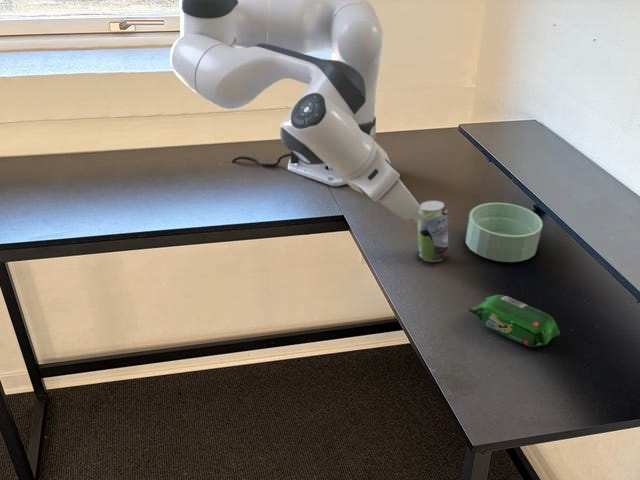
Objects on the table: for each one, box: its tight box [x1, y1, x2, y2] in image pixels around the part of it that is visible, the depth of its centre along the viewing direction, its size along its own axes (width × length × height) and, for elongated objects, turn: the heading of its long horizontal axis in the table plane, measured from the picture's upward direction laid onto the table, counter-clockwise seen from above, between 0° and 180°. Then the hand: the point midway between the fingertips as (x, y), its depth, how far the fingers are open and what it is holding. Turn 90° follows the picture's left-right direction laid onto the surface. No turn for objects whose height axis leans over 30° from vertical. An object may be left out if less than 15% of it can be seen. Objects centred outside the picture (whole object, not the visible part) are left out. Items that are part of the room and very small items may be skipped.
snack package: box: [468, 294, 561, 348], centre depth 130 cm, size 7×16×5 cm, turn 52°
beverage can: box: [416, 200, 449, 263], centre depth 148 cm, size 6×7×12 cm
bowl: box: [465, 202, 544, 263], centre depth 155 cm, size 15×15×6 cm
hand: (406, 207), depth 141 cm, fingers open, 8 cm apart
